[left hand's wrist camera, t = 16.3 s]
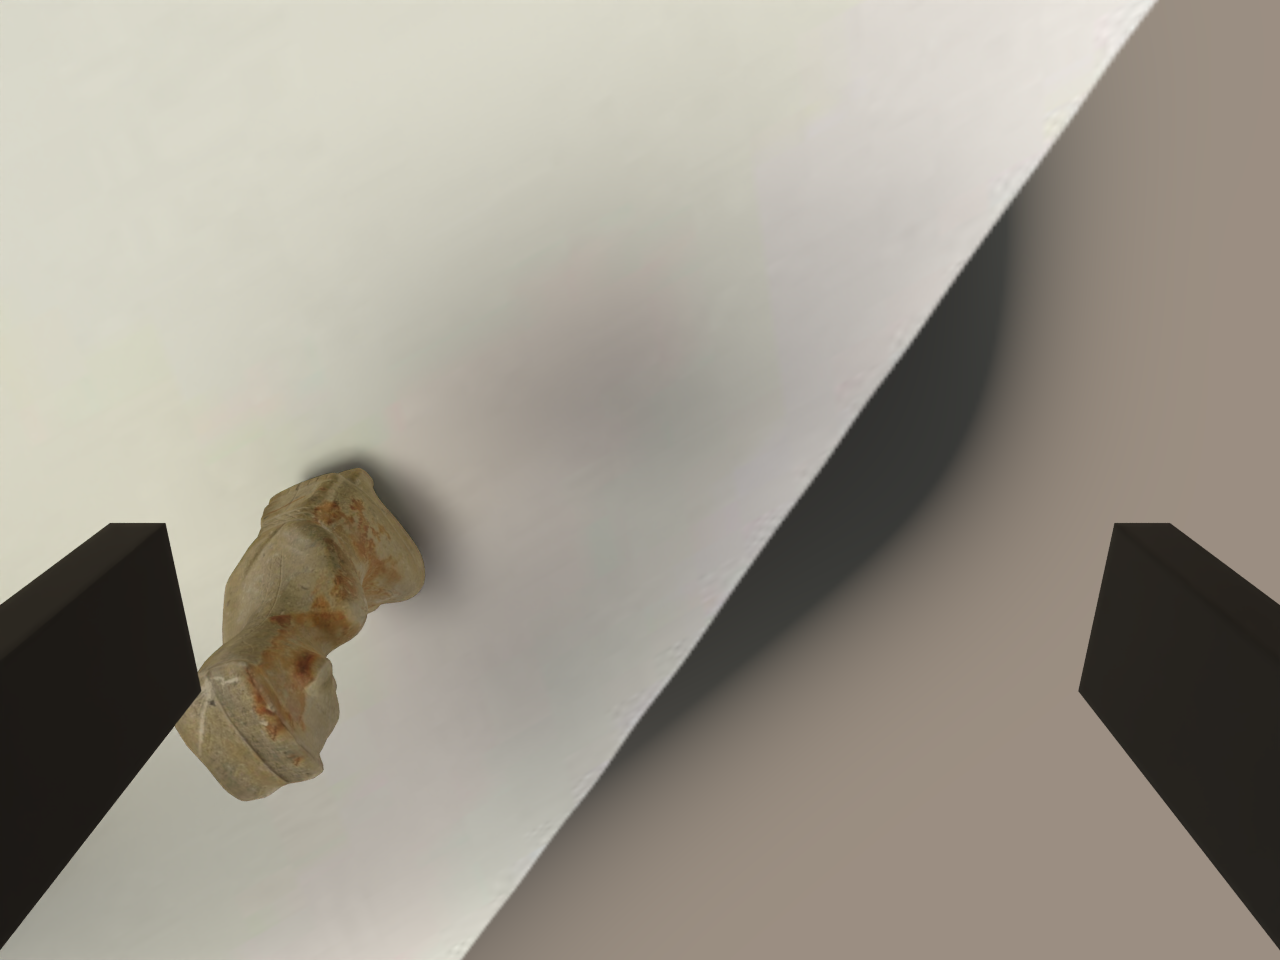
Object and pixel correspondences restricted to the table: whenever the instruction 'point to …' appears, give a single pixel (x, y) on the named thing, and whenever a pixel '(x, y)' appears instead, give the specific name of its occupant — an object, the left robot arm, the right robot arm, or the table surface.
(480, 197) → the table surface
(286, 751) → the sculpture
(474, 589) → the table surface
